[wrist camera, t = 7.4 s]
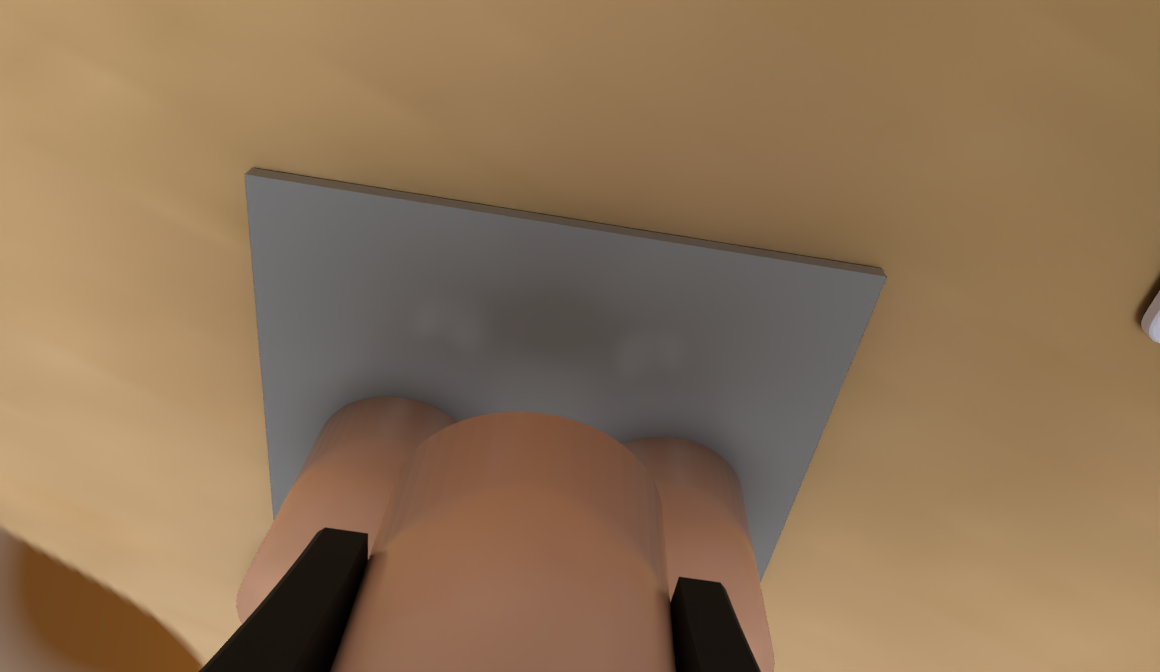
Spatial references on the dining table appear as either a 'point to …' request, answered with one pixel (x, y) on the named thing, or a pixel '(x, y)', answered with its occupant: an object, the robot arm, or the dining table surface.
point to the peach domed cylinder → (341, 484)
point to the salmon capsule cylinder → (708, 529)
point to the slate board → (547, 328)
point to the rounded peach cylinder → (515, 557)
